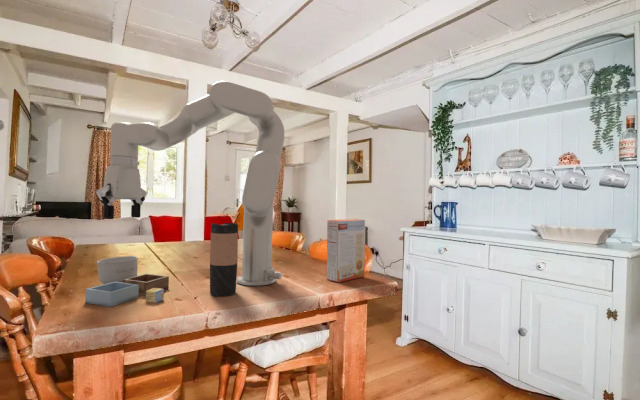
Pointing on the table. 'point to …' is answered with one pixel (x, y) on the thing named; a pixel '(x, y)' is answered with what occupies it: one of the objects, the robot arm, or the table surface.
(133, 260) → the grey piece
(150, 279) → the walnut box
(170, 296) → the table surface
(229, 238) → the travel mug
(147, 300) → the alphabet block
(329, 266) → the cracker box
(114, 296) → the slate box
